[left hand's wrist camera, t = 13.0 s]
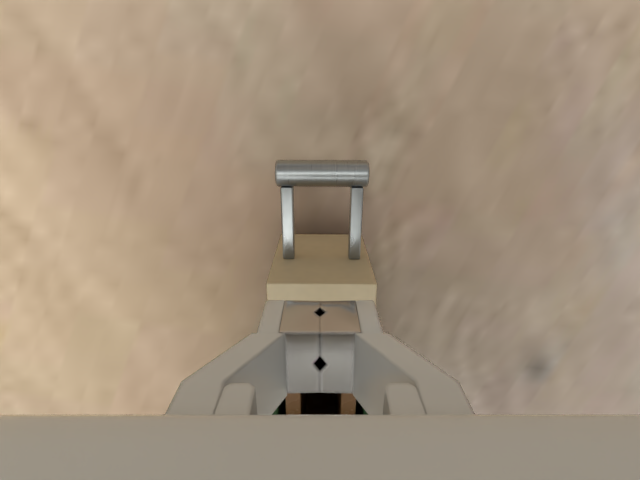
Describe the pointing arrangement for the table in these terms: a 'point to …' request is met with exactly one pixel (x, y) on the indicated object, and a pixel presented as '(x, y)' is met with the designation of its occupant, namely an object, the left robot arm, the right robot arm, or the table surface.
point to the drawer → (321, 260)
